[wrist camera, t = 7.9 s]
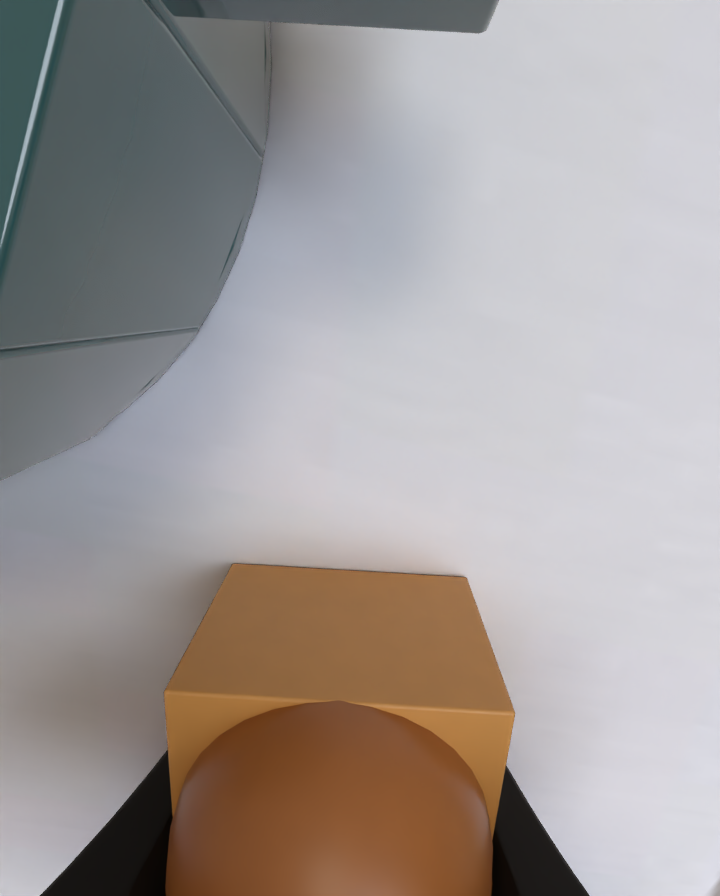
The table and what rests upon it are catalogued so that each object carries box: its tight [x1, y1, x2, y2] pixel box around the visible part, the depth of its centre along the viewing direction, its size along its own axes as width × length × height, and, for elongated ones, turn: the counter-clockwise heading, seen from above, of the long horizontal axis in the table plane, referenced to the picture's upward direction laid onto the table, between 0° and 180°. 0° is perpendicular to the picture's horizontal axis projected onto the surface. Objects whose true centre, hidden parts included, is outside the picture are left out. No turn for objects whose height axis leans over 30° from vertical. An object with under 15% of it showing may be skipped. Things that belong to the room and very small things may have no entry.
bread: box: [164, 564, 515, 896], centre depth 8 cm, size 8×5×6 cm, turn 177°
